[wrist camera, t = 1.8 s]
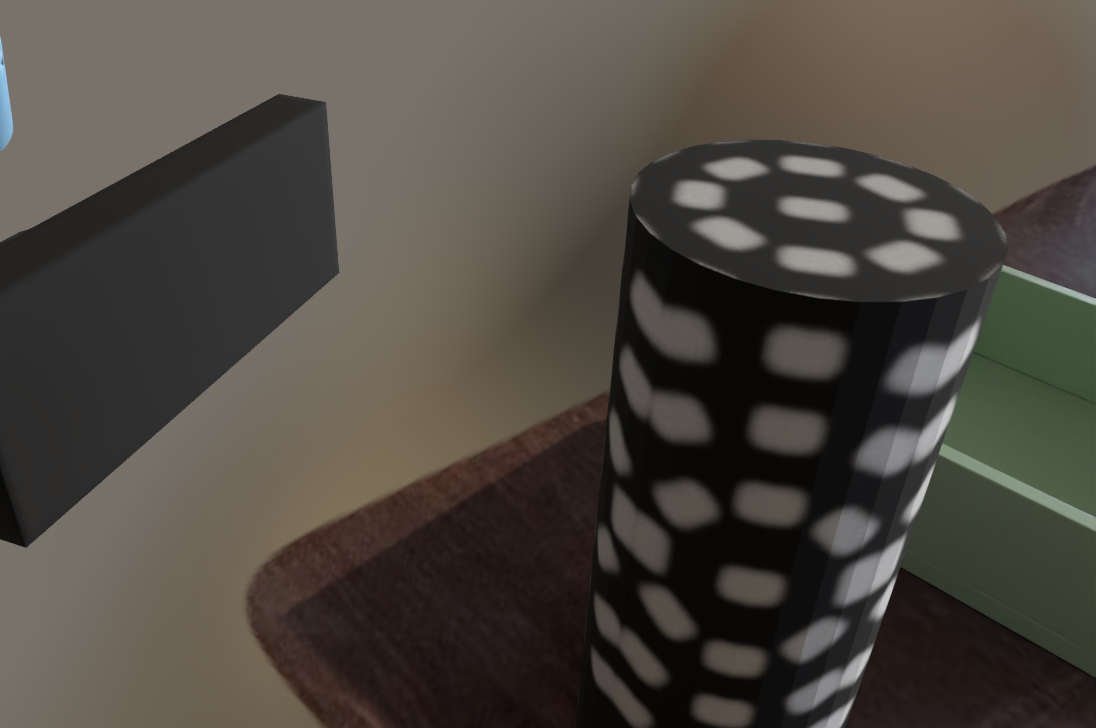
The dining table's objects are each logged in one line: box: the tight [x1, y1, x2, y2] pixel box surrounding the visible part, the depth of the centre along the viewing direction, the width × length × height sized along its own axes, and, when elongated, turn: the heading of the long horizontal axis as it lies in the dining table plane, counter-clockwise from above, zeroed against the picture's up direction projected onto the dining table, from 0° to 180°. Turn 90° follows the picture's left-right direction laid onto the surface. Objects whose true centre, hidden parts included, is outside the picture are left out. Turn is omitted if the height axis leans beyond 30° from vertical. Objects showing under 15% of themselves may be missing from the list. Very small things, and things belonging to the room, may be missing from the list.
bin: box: [900, 265, 1096, 678], centre depth 45 cm, size 18×18×6 cm
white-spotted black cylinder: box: [575, 140, 1008, 728], centre depth 28 cm, size 8×8×20 cm
